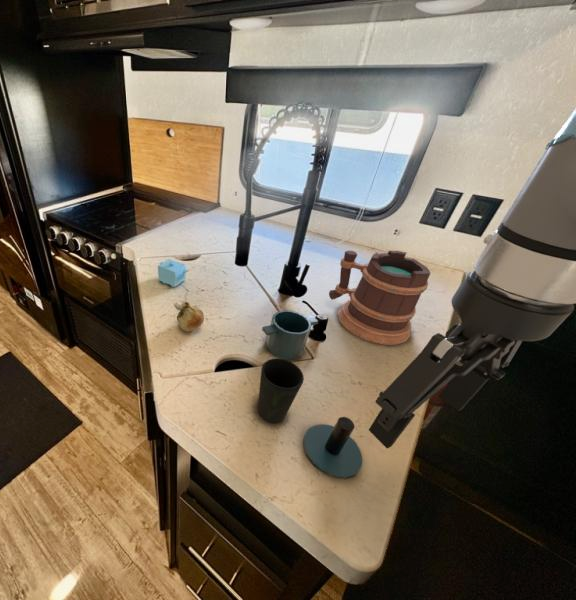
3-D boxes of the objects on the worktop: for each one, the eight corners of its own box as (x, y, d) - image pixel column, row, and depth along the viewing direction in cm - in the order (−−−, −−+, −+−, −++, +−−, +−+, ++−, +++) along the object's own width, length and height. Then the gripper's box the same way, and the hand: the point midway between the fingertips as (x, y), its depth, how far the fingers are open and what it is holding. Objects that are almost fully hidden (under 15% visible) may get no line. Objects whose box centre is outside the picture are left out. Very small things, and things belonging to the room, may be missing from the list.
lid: (373, 469, 56) (393, 441, 50) (326, 487, 53) (343, 460, 48) (334, 421, 63) (348, 393, 58) (292, 435, 61) (303, 407, 56)
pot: (319, 352, 79) (328, 327, 75) (269, 365, 76) (276, 339, 71) (297, 330, 87) (304, 305, 82) (251, 341, 83) (255, 316, 78)
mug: (335, 292, 102) (355, 235, 91) (415, 320, 90) (451, 259, 79) (313, 318, 91) (333, 257, 79) (402, 355, 79) (441, 289, 67)
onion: (180, 338, 84) (181, 315, 79) (173, 320, 90) (173, 298, 85) (207, 334, 85) (209, 310, 81) (197, 316, 92) (199, 294, 87)
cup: (275, 392, 69) (286, 354, 62) (297, 420, 64) (312, 382, 57) (245, 402, 67) (253, 364, 60) (266, 433, 61) (277, 394, 54)
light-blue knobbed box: (193, 284, 106) (194, 264, 102) (183, 292, 102) (183, 272, 98) (165, 273, 112) (165, 255, 108) (155, 280, 108) (154, 261, 104)
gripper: (543, 245, 35) (448, 371, 48) (388, 293, 28) (322, 428, 40) (643, 277, 30) (505, 410, 42) (483, 348, 22) (372, 486, 34)
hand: (416, 419), depth 41 cm, fingers open, 13 cm apart
